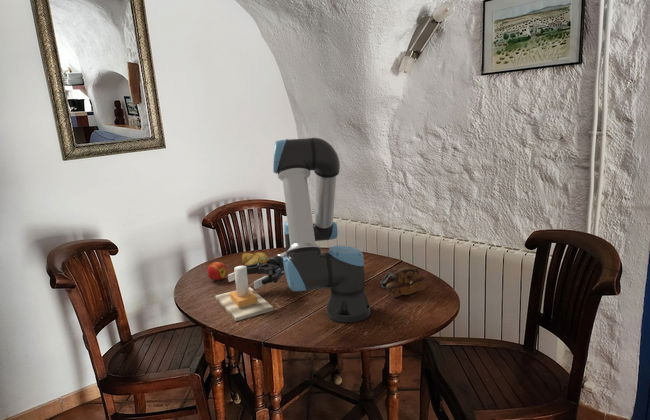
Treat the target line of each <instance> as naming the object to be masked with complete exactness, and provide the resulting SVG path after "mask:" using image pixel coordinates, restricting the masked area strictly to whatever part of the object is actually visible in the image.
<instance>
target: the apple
mask: <svg viewBox="0 0 650 420" xmlns="http://www.w3.org/2000/svg"><path fill="white" fill-rule="evenodd" d="M206 273H207V276H208V278H210V279H211V280H212V281H215V282H216V281H218V282H219V281H223V280H225V279H226V277H228V267H227V266H226V264H225V263H223V262H220V261H215V262H212V263H210V264H209V266H208V267H207V271H206Z"/></svg>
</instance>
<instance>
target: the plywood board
mask: <svg viewBox="0 0 650 420" xmlns="http://www.w3.org/2000/svg"><path fill="white" fill-rule="evenodd" d="M248 289H249V290H250V291H251V292H252V293H253V294H254V295H255V296H257V303H256V304H252V305H249V306H245V307H241V308H238V307H237V305H236V304H235V303H234V302H233V301H232V300H231V299H230V292H233V291H234V290H232V291H229V292H224V293H221V294H217V295H215V299H216V301H217V302H218V303H219V304H220V305H221V306H222V307H223V308H224V310H225V311H226V312H227V313H228V314H229V315H230V316H231V317H232V319H233V320H234V321H235V322H237V321H241V320H245V319H248V318H252V317H256V316H258V315H261V314H266V313H269V312H272V311H274V306H273V305H272V304H270V303H269V302H268V301H267V300H265V298H264V297H262V296H261V295H260V294H259V293H258V292H257V291H255V289H254V288H252V287H251V286H248Z"/></svg>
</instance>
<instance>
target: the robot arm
mask: <svg viewBox="0 0 650 420" xmlns="http://www.w3.org/2000/svg"><path fill="white" fill-rule="evenodd" d="M273 144H274V147H273V165H272V166H273V171H272V172H273V173H274V174H277V178H278V179H279V180H280V181H282V183H283V193H284V204H285V211H286V218H287V219H286V220H287V221H286V222H284V225H283V227H284V231H283V233H284V245H285V251H284V252H281V253H279V254H277V255H273V256H272V257H270V258H269V260H268V262H267V263H265V264H262V265H261V263H260V262H258V263H256V264H251V265H247V266H246V268H247V275H254V274H257V275H263V274H264V276H262V277H261V278H258V279H256V280H254V281H253V290H257V289H259V288H260V287H263V286H264V285H267V284H269V283H274V284H277V283H278V282H279V280H280V279H281V277H282V276H284V275H285V279H286V281H287V284H288V287H289V289H290V290H291V291H292V292H307V291H312V290H313V291H314V290H320V289H321V290H322V289H329V288H330V294H329V297H328V301H327V303H326V316H327V317H328V318H329V319H330V320H332V321H334V322H338V323H345V324H346V323H347V324H350V323H357V322H358V323H359V322H361V321H363V320H366V319H367V318H369V316H370V315H371V305H370V302H369V300H368V296H367V294H366V291H365V290H366V289H365V258H364V254H363V252H362V251H361V250H360V249H359V248H357V247H354V246H349V245H333V246H330V247H329V248H328V251H327V252H322V249H321V246H320V245H318V244H317V243H316V242H321V241H331V240H332V241H333V240H336V239H337V238H338V232H339V231H338V225H337V223H336V222H335V221H334V210H335V199H336V197H335V196H336V186H337V185H336V182H337V177H338V176H339V174H340V170H341V169H340V168H341V167H340V166H341V165H340V158H339V155H338V153H337V152H336V150H335V148H334V147H333V146H332V144H330V143H329V142H328V141H327V140H325V139H323V138H320V137H309V138H306V137H305V138H291V139H288V138H286V139H282V140H276V141H275V143H273ZM312 171H313V173H314V175H315V176H316V178H315V179H316V180H315V181H316V182H315V203H314V205H315V206H314V207H315V208H314V223H313V216H312V215H313V214H312V213H313V212H312V207H311V199H310V191H309V183H308V178H309V177H310V175H311V172H312ZM227 281H228V282H229V283H230V282H232V281H235V271H234V272H232V273H229V274H227ZM228 282H227V283H228Z"/></svg>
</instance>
